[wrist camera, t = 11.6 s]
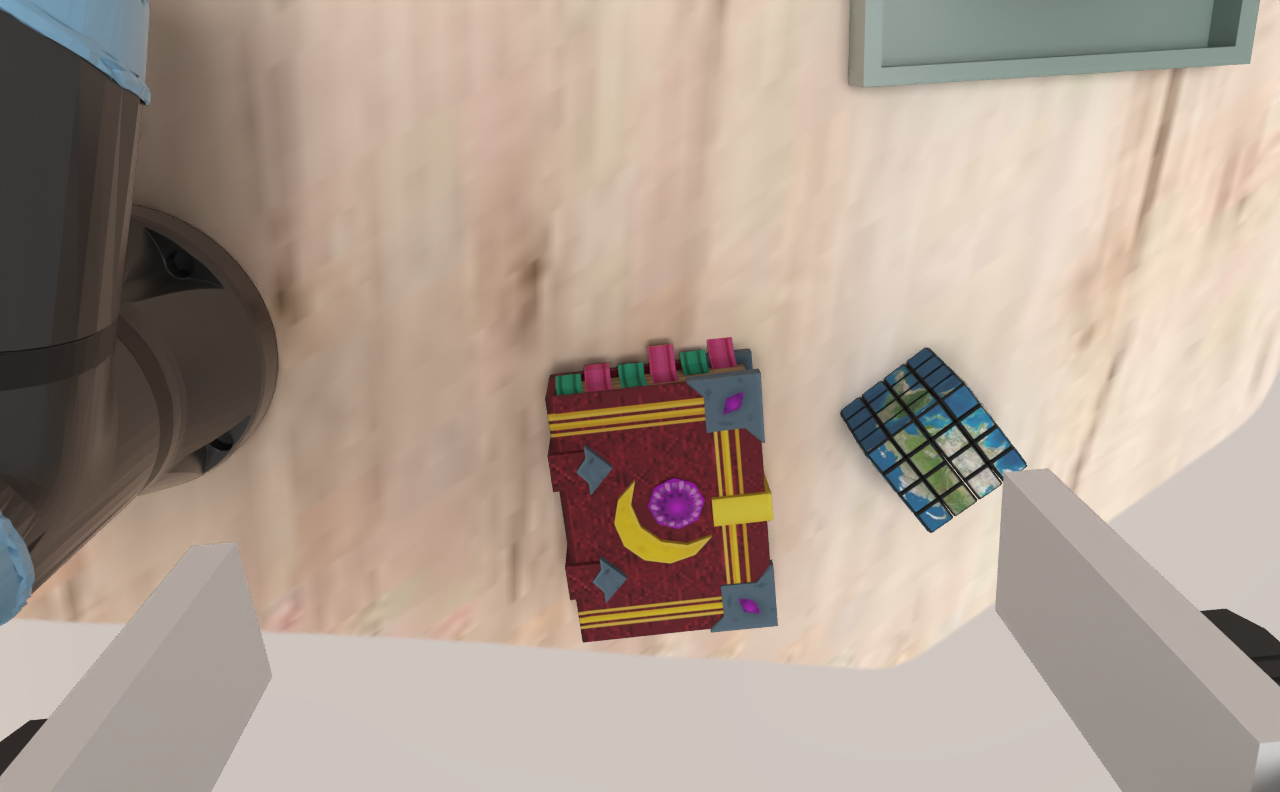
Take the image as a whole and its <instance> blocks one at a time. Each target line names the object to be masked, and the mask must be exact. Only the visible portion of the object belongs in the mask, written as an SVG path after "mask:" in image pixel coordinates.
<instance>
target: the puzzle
mask: <svg viewBox="0 0 1280 792" xmlns="http://www.w3.org/2000/svg"><path fill="white" fill-rule="evenodd" d="M906 364H907V366H908V367H909V368H910V369H911V370H910V369H909V368H908V367H907V366H906V365H902V366H900V367H899V368H898V369H896V370H895V371H894V372H892V373H891V374H889V375H888V376H887V377H886V378H885V379H884V381H885V382H886V384H887V385H888V386H889V388H890V389H891V390H892V391H893V393H894V394H895V395H896V396H897V398H898V399H899V400H900V401H901V403H902V404H903V405H904V406H905V408H906V409H907V410H908V411H909V413H910V414H911V415H912V416H913V418H914V419H915V420H916V422H917V423H918V424H919V425H920V427H921V428H922V429H923V430H924V432H925V433H926V434H927V435H928V437H929V438H930V439H931V440H932V442H933V443H934V444H935V446H936V447H937V448H938V449H939V451H940V452H941V453H942V454H943V456H944V457H945V458H946V459H947V461H948V462H949V463H950V464H951V465H952V467H953V468H954V469H955V470H956V472H957V473H958V474H959V476H960V477H961V478H962V479H963V480H964V482H965V483H966V484H967V485H968V487H969V488H970V489H971V490H972V492H973V493H974V494H975V495H976V497H977V498H978V499H981V498H983V497H984V496H986V495H987V494H989V493H990V492H992V491H993V490H994V489H996V488H997V487H999V486H1000V485H1001V484H1002V482H1001V481H1000V479H1001V480H1002V481H1003V476H1004V472H1015V471H1022V470H1023V469H1024V468H1026V467H1027V465H1026V462H1025V460H1024V459H1023V458H1022V456H1021V455H1020V454H1019V452H1018V451H1017V450H1016V449H1015V447H1014V446H1013V445H1012V444H1011V442H1010V441H1009V439H1008V438H1007V437H1006V435H1005V434H1004V433H1003V431H1002V430H1001V429H1000V427H999V426H998V425H997V424H996V423H995V421H994V420H993V418H992V417H991V416H990V414H989V413H988V412H987V410H986V409H985V408H984V406H983V405H982V404H981V403H980V402H979V400H978V398H977V397H976V396H975V394H974V393H973V392H972V391H971V389H970V388H969V387H968V385H967V384H966V383H965V382H964V381H963V380H962V379H961V378H960V377H959V376H958V375H957V374H956V373H955V372H954V371H953V370H952V369H951V368H949V367H948V366H947V365H946V364H945V363H944V362H943V361H942V360H941V359H940V358H939V357H938V356H937V355H936V354H935V353H934V352H933V351H932V350H931V349H930V348H929V349H928V348H924V349H923V350H922V351H920V352H919V353H918V354H916V355H915V356H914V357H912V358H911V359H910V360H908V361H907V363H906ZM912 372H913V373H914V374H913V373H912ZM886 384H885V383H884V382H883V381H880V382H879V383H877V384H876V385H875V386H873V387H872V388H871V389H869V390H868V391H867V392H865V393H864V394H863V395H862V398H863V399H864V400H865V402H866V403H867V404H866V403H865V402H864V401H863V399H862V398H857V399H856V400H855V401H853V402H852V403H851V404H849V405H848V406H847V407H845V408H844V409H843V410H841V412H840V413H841V417H842V418H843V420H844V421H845V423H846V424H847V426H848V428H849V430H850V431H851V433H852V434H853V436H854V438H855V439H856V441H857V443H858V444H859V446H860V448H861V449H862V451H863V452H864V454H865V456H866V457H867V458H868V459H869V461H870V462H871V463H872V464H873V465H874V467H875V468H876V469H877V470H878V472H880V473H881V475H882V476H883V478H884V479H885V480H886V481H887V482H888V484H889V485H890V486H891V487H892V489H893V490H894V491H895V492H897V494H898V496H899V497H900V498H901V499H902V501H903V502H904V503H905V504H906V505H907V507H908V508H909V509H910V510H911V512H913V513H914V515H915V516H916V518H917V519H918V520H919V521H920V522H921V524H922V525H923V526H924V527H925V529H926V530H927V531H928V532H930V533H932V532H934V531H935V530H937V529H938V528H940V527H941V526H943V525H944V524H945V523H947V522H948V521H950V520H951V519H952V518H953V516H952V515H951V513H952V514H953V515H954V516H957V515H958V514H960V513H961V512H963V511H964V510H966V509H967V508H968V507H970V506H971V505H973V504H974V503H975V502H977V499H976V497H975V496H974V495H973V494H972V492H971V491H970V490H969V489H968V487H967V486H966V485H965V483H964V482H963V481H962V480H961V478H960V477H959V476H958V475H957V473H956V472H955V471H954V470H953V468H952V467H951V466H950V465H949V463H948V462H947V461H946V460H945V458H944V457H943V456H942V454H941V453H940V452H939V451H938V449H937V448H936V447H935V446H934V444H933V443H932V442H931V441H930V439H929V438H928V437H927V435H926V434H925V433H924V432H923V430H922V429H921V428H920V427H919V425H918V424H917V423H916V422H915V420H914V419H913V418H912V417H911V415H910V414H909V413H908V412H907V410H906V409H905V408H904V407H903V406H902V404H901V403H900V402H899V400H898V399H897V398H896V397H895V396H894V394H893V393H892V392H891V391H890V389H889V388H888V387H887V385H886ZM867 405H868V406H869V407H870V408H869V407H868V406H867ZM993 471H994V472H995V473H996V474H997V475H998V477H999V478H1000V479H999V478H998V477H997V475H996V474H995V473H994V472H993ZM944 504H945V505H946V506H945V505H944ZM946 507H947V508H948V509H949V510H950V512H951V513H950V512H949V510H948V509H947V508H946Z"/></svg>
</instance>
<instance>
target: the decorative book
mask: <svg viewBox="0 0 1280 792" xmlns="http://www.w3.org/2000/svg"><path fill="white" fill-rule="evenodd" d="M707 344H708V351H709V354H705V350H698V351H689V352H680V358H681V360H680V361H675V359H674V351H673V344H664V345H655V346H648V355H649V364H644V365H643V362H638V363H629V364H620V365H618V368H610V367H609V363H600V364H591V365H584V371H582V372H573V373H564V374H555V375H550V378H549V383H548V388H547V393H546V398H545V401H546V408H547V414H548V421H549V427H550V433H551V439H550V445H549V451H548V462H549V468H550V474H551V481H552V487H553V492H558V491H559V492H560V498H561V504H562V511H563V517H564V524H565V530H566V537H567V553H566V564H565V570H566V576H567V582H568V589H569V595H570V600H575V599H576V601H577V608H578V614H579V621H580V627H581V634H582V640H583V642H592V641H601V640H611V639H620V638H629V637H638V636H648V635H657V634H666V633H675V632H685V631H694V630H703V629H711V632H721V631H731V630H741V629H751V628H761V627H772V626H778V621H777V608H776V595H775V582H774V569H773V563H772V560H770V556H769V542H768V527H767V521H770V520H773V511H772V496H771V491H770V488H769V486H768V483H767V480H766V477H765V474H764V470H763V456H762V442H763V443H765V438H764V421H763V405H762V389H761V373H760V371H759V369H752V357H751V351H750V349H743V350H733V344H732V337H728V338H719V339H709V340H707Z"/></svg>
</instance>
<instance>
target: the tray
mask: <svg viewBox="0 0 1280 792" xmlns="http://www.w3.org/2000/svg"><path fill="white" fill-rule="evenodd" d="M1259 4H1260V0H850V35H849V85H852V86H859V87H873V86H890V85H906V84H923V83H940V82H956V81H973V80H989V79H1006V78H1022V77H1039V76H1055V75H1072V74H1088V73H1105V72H1121V71H1138V70H1154V69H1171V68H1187V67H1204V66H1220V65H1237V64H1250V60H1251V54H1252V47H1253V41H1254V35H1255V29H1256V22H1257V16H1258V10H1259Z"/></svg>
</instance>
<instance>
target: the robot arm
mask: <svg viewBox="0 0 1280 792" xmlns="http://www.w3.org/2000/svg"><path fill="white" fill-rule="evenodd" d="M149 17H150V7H149V1H148V0H0V626H1V625H3V624H5V623H6V622H8V621H9V620H11V619H12V618H13V617H15V616H16V615H17V614H18V612H19V611H20V610H21V609H22V607H24V606H25V605H26V604H27V602H26V599H28V598H29V597H31V594H32V593H33V592H35V591H36V590H37V589H38V588H39V587H40V586H41V585H42V584H43V583H44V582H45V581H46V580H47V579H48V578H50V577H51V576H52V575H53V574H54V573H55V572H56V571H57V570H58V569H59V568H60V567H61V566H62V565H63V564H65V563H66V562H67V561H68V560H69V559H70V558H71V557H72V556H73V555H74V554H75V553H76V552H77V551H78V550H80V549H81V548H82V547H83V546H84V545H85V544H86V543H87V542H88V541H89V540H90V539H91V538H92V537H93V536H95V535H96V534H97V533H98V532H99V531H100V530H101V529H102V528H103V527H104V526H105V525H106V524H107V523H108V522H110V521H111V520H112V519H113V518H114V517H115V516H116V515H117V514H118V513H119V512H120V511H121V510H122V509H124V508H125V507H126V506H127V505H128V504H129V503H130V502H131V501H132V500H133V499H134V498H135V497H136V496H140V495H144V494H147V493H151V492H155V491H158V490H162V489H166V488H169V487H173V486H177V485H180V484H183V483H186V482H189V481H191V480H193V479H196V478H198V477H200V476H202V475H204V474H206V473H207V472H209V471H211V470H212V469H214V468H216V467H217V466H219V465H220V464H221V463H223V462H224V461H225V460H226V459H228V458H229V457H230V456H231V455H232V454H233V453H234V452H235V451H236V450H237V449H238V448H239V447H240V446H241V445H242V444H243V443H244V442H245V441H246V440H247V439H248V438H249V437H250V435H251V434H252V433H253V432H254V431H255V429H256V428H257V427H258V425H259V424H260V422H261V421H262V419H263V417H264V415H265V413H266V411H267V409H268V407H269V405H270V402H271V399H272V396H273V393H274V389H275V384H276V378H277V346H276V340H275V335H274V331H273V327H272V323H271V320H270V317H269V314H268V312H267V310H266V307H265V305H264V303H263V301H262V299H261V297H260V295H259V293H258V291H257V290H256V288H255V286H254V285H253V283H252V282H251V280H250V279H249V277H248V276H247V275H246V273H245V272H244V271H243V270H242V268H241V267H240V266H239V265H238V264H237V263H236V261H235V260H234V259H233V258H232V257H231V256H230V255H229V254H228V253H227V252H226V251H225V250H224V249H222V248H221V247H220V246H219V245H218V244H217V243H215V242H214V241H213V240H212V239H210V238H209V237H208V236H206V235H205V234H203V233H202V232H200V231H199V230H197V229H196V228H194V227H192V226H190V225H189V224H187V223H185V222H183V221H181V220H179V219H177V218H175V217H172V216H170V215H168V214H165V213H162V212H159V211H156V210H153V209H150V208H146V207H142V206H137V205H132V198H133V189H134V180H135V171H136V162H137V153H138V143H139V134H140V125H141V116H142V107H143V105H146V106H149V105H150V101H151V91H150V89H149V88H148V86H147V85H146V83H145V81H146V65H147V49H148V33H149ZM995 610H996V612H997V613H998V615H999V616H1000V617H1001V619H1002V620H1003V621H1004V623H1005V625H1006V626H1007V627H1008V629H1009V630H1010V632H1011V633H1012V635H1013V636H1014V637H1015V639H1016V640H1017V642H1018V643H1019V645H1020V646H1021V647H1022V649H1023V650H1024V652H1025V653H1026V655H1027V656H1028V657H1029V659H1030V660H1031V662H1032V663H1033V664H1034V666H1035V668H1036V669H1037V670H1038V672H1039V673H1040V675H1041V676H1042V677H1043V679H1044V680H1045V682H1046V683H1047V685H1048V686H1049V688H1050V689H1051V690H1052V692H1053V693H1054V695H1055V696H1056V697H1057V699H1058V700H1059V702H1060V703H1061V705H1062V706H1063V708H1064V709H1065V710H1066V712H1067V713H1068V715H1069V716H1070V717H1071V719H1072V720H1073V722H1074V723H1075V725H1076V726H1077V728H1078V729H1079V730H1080V732H1081V733H1082V735H1083V736H1084V738H1085V739H1086V740H1087V742H1088V743H1089V745H1090V746H1091V748H1092V749H1093V751H1094V752H1095V753H1096V755H1097V756H1098V758H1099V759H1100V760H1101V762H1102V763H1103V765H1104V766H1105V767H1106V769H1107V771H1108V772H1109V773H1110V775H1111V776H1112V778H1113V779H1114V781H1115V782H1116V783H1117V785H1118V786H1119V788H1120V789H1121V790H1122V792H1280V642H1279V641H1278V640H1277V639H1276V638H1275V637H1274V636H1273V635H1271V634H1270V633H1269V632H1268V631H1267V630H1266V629H1264V628H1262V627H1260V626H1258V625H1257V624H1255V623H1253V622H1251V621H1249V620H1247V619H1245V618H1243V617H1241V616H1239V615H1237V614H1235V613H1233V612H1231V611H1229V610H1227V609H1217V610H1206V611H1199V610H1198V609H1197V608H1196V607H1195V606H1194V605H1193V604H1192V603H1191V602H1189V601H1188V600H1187V599H1186V598H1185V597H1184V596H1183V595H1182V594H1181V593H1180V592H1179V591H1178V590H1177V589H1176V588H1175V587H1173V585H1171V584H1170V583H1169V582H1168V581H1167V580H1166V579H1165V578H1164V577H1163V576H1162V575H1161V574H1160V573H1159V572H1158V571H1157V570H1156V569H1154V568H1153V567H1152V566H1151V565H1150V564H1149V563H1148V562H1147V561H1146V560H1145V559H1144V558H1143V557H1142V556H1141V555H1140V554H1139V553H1137V552H1136V551H1135V550H1134V549H1133V548H1132V547H1131V546H1130V545H1129V544H1128V543H1127V542H1126V541H1125V540H1124V539H1123V538H1122V537H1120V536H1119V535H1118V534H1117V533H1116V532H1115V531H1114V530H1113V529H1112V528H1111V527H1110V526H1109V525H1108V524H1107V523H1106V522H1105V521H1104V520H1102V519H1101V518H1100V517H1099V516H1098V515H1097V514H1096V513H1095V512H1094V511H1093V510H1092V509H1091V508H1090V507H1089V506H1088V505H1087V504H1085V503H1084V502H1083V501H1082V500H1081V499H1080V498H1079V497H1078V496H1077V495H1076V494H1075V493H1074V492H1073V491H1072V490H1071V489H1070V488H1068V487H1067V486H1066V485H1065V484H1064V483H1063V482H1062V481H1061V480H1060V479H1059V478H1058V477H1057V476H1056V475H1055V474H1054V473H1053V472H1051V471H1050V470H1049V469H1037V470H1026V471H1015V472H1004V476H1003V493H1002V509H1001V525H1000V542H999V558H998V575H997V591H996V608H995ZM271 677H272V673H271V669H270V666H269V662H268V658H267V654H266V650H265V647H264V643H263V639H262V635H261V632H260V628H259V624H258V620H257V617H256V613H255V609H254V605H253V601H252V598H251V594H250V590H249V586H248V583H247V579H246V575H245V571H244V568H243V564H242V560H241V556H240V552H239V549H238V545H237V542H229V543H218V544H206V545H195V546H191V547H190V548H189V550H188V551H187V552H186V553H185V554H184V556H183V557H182V558H181V559H180V561H179V562H178V563H177V564H176V565H175V567H174V568H173V569H172V570H171V571H170V573H169V574H168V575H167V576H166V577H165V579H164V580H163V581H162V582H161V583H160V585H159V586H158V587H157V588H156V589H155V591H154V592H153V593H152V594H151V595H150V597H149V598H148V599H147V600H146V601H145V603H144V604H143V605H142V606H141V608H140V609H139V610H138V611H137V612H136V614H135V615H134V616H133V617H132V618H131V620H130V621H129V622H128V623H127V624H126V626H125V627H124V628H123V629H122V630H121V632H120V633H119V634H118V635H117V636H116V638H115V639H114V640H113V641H112V643H111V644H110V645H109V646H108V647H107V648H106V650H105V651H104V652H103V653H102V654H101V656H100V657H99V658H98V659H97V661H96V662H95V663H94V664H93V665H92V667H91V668H90V669H89V670H88V671H87V673H86V674H85V675H84V676H83V677H82V679H81V680H80V681H79V682H78V683H77V685H76V686H75V687H74V688H73V689H72V691H71V692H70V693H69V694H68V695H67V697H66V698H65V699H64V700H63V701H62V703H61V704H60V705H59V706H58V708H57V709H56V710H55V711H54V712H53V714H52V715H51V716H50V717H49V718H48V719H40V720H30V721H28V722H27V723H26V724H24V725H23V726H22V727H20V728H19V729H17V730H16V731H15V732H13V733H12V734H10V735H9V736H8V737H6V738H5V739H4V740H2V741H1V742H0V792H211V791H212V789H213V787H214V785H215V783H216V781H217V780H218V778H219V776H220V774H221V772H222V770H223V768H224V766H225V765H226V763H227V761H228V759H229V757H230V755H231V753H232V751H233V749H234V747H235V746H236V744H237V741H238V740H239V738H240V736H241V734H242V732H243V730H244V728H245V727H246V725H247V723H248V721H249V719H250V717H251V715H252V713H253V712H254V710H255V708H256V706H257V704H258V702H259V700H260V698H261V696H262V695H263V693H264V691H265V689H266V687H267V685H268V683H269V681H270V679H271Z"/></svg>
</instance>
